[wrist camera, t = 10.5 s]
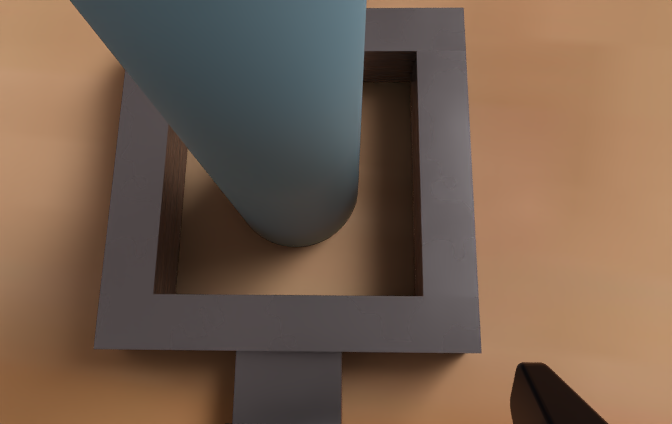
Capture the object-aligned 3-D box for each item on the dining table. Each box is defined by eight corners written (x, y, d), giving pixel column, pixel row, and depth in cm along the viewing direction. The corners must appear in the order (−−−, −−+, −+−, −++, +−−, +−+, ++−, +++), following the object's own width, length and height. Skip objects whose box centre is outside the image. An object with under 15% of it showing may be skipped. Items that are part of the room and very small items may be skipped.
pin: (308, 271, 18) (201, 67, 5) (211, 199, 18) (-100, -146, 6) (382, 174, 18) (452, -221, 6) (286, 108, 19) (159, -377, 6)
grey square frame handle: (484, 752, 14) (512, 837, 12) (83, 740, 15) (27, 820, 12) (441, -186, 22) (453, -257, 19) (176, -182, 22) (153, -251, 20)
